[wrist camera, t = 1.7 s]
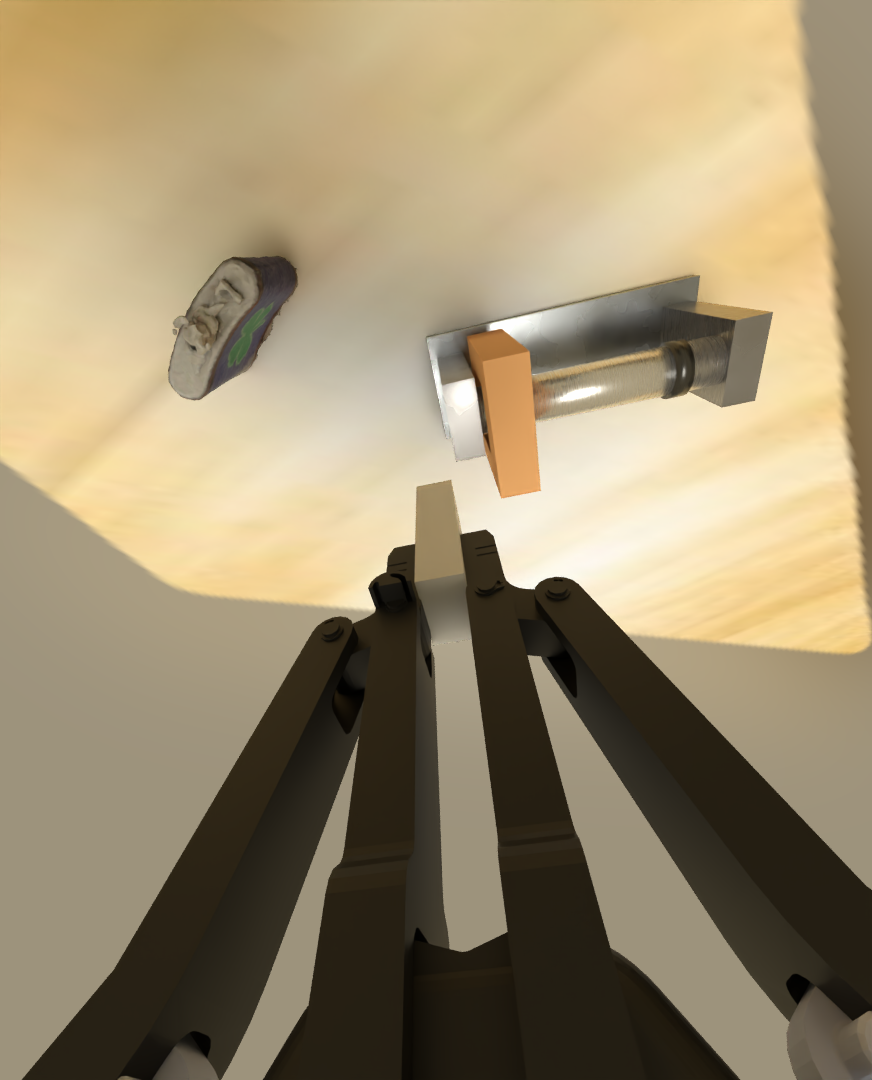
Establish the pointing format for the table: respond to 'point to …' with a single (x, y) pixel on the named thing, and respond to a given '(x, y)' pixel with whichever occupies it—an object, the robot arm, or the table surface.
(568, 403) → the pipe rail
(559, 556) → the table surface
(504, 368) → the orange square ring
